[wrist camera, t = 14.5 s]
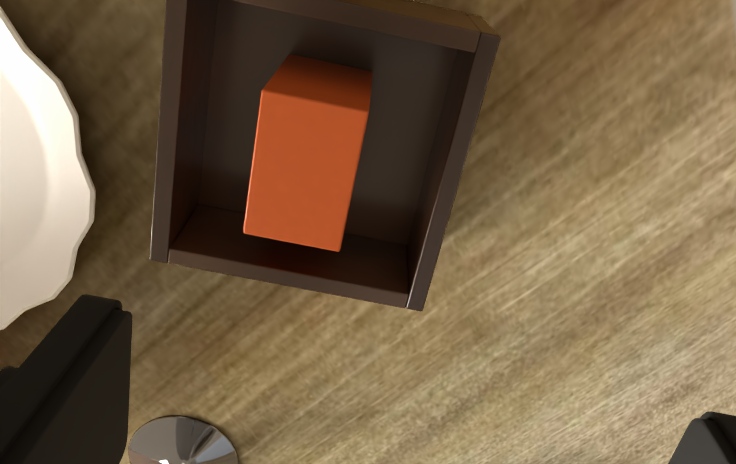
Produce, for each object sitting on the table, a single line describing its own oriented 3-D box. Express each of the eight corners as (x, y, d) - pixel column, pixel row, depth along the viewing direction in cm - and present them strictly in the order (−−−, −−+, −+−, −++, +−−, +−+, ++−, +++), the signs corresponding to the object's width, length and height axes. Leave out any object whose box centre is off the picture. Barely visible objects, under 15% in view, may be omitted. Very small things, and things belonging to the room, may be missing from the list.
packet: (373, 71, 30) (369, 111, 24) (349, 188, 33) (339, 253, 26) (288, 53, 30) (261, 89, 23) (271, 173, 32) (242, 233, 26)
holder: (482, 16, 29) (501, 36, 24) (417, 255, 35) (422, 312, 30) (207, -45, 29) (168, -37, 24) (185, 210, 34) (149, 260, 29)
